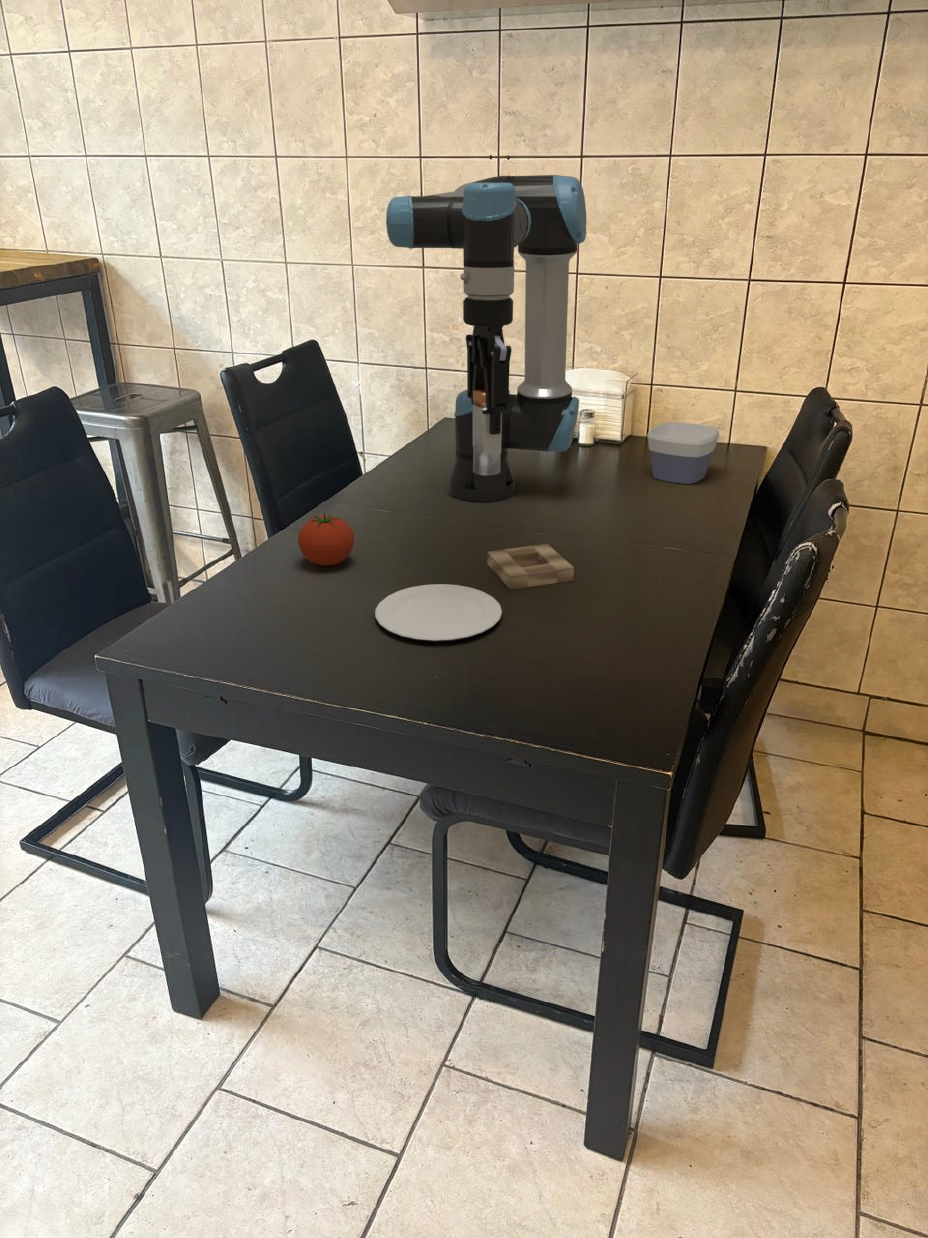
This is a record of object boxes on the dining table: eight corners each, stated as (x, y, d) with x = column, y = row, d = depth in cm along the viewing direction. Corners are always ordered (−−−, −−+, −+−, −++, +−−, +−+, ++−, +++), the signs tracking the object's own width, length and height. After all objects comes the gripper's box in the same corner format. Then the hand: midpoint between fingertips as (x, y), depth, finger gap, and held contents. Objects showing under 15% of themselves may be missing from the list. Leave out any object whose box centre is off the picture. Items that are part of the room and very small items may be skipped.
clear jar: (469, 469, 149) (469, 388, 144) (494, 466, 151) (495, 387, 145) (478, 476, 146) (479, 394, 140) (504, 473, 147) (506, 392, 141)
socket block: (487, 564, 169) (487, 551, 168) (546, 556, 173) (547, 543, 172) (510, 589, 159) (510, 576, 158) (573, 580, 163) (573, 567, 161)
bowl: (721, 473, 218) (726, 427, 213) (699, 490, 207) (704, 442, 202) (660, 463, 226) (664, 418, 221) (635, 479, 214) (639, 433, 209)
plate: (458, 661, 137) (457, 651, 136) (349, 627, 147) (348, 618, 146) (524, 609, 153) (524, 600, 152) (422, 582, 163) (422, 574, 162)
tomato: (333, 549, 176) (329, 499, 172) (366, 563, 170) (363, 512, 165) (289, 563, 170) (284, 513, 166) (322, 579, 163) (318, 527, 159)
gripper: (446, 291, 143) (447, 438, 153) (485, 304, 128) (483, 466, 138) (490, 289, 145) (489, 434, 155) (534, 301, 130) (529, 461, 140)
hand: (486, 449), depth 146 cm, fingers closed on clear jar, 4 cm apart
